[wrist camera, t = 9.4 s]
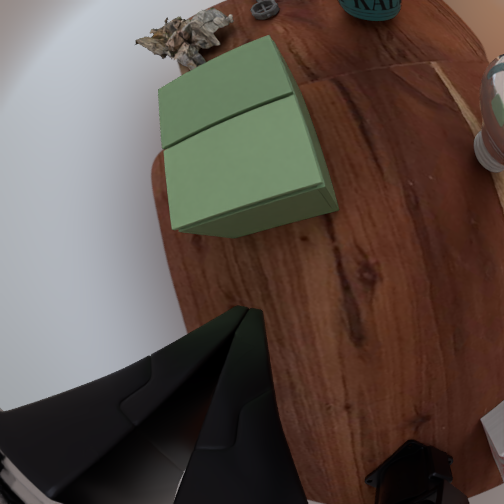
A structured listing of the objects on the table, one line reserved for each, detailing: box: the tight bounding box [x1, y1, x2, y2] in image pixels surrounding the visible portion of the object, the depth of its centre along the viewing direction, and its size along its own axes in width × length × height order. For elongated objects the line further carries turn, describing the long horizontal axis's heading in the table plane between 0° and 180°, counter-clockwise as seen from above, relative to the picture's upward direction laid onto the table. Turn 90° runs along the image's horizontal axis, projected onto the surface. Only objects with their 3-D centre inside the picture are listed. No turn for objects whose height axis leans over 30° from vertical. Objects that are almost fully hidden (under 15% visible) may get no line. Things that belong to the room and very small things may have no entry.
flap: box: [164, 95, 323, 230], centre depth 14 cm, size 5×9×1 cm, turn 102°
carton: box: [158, 35, 339, 238], centre depth 18 cm, size 11×9×8 cm
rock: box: [136, 8, 234, 70], centre depth 24 cm, size 8×15×4 cm, turn 48°
